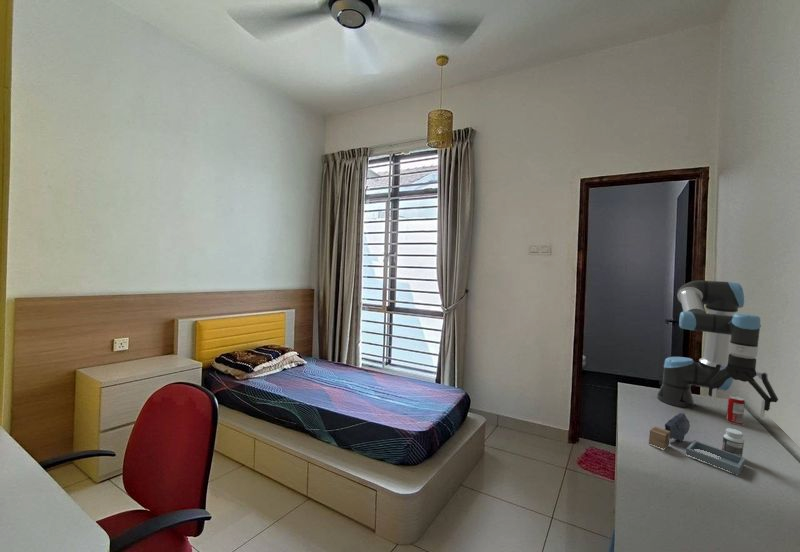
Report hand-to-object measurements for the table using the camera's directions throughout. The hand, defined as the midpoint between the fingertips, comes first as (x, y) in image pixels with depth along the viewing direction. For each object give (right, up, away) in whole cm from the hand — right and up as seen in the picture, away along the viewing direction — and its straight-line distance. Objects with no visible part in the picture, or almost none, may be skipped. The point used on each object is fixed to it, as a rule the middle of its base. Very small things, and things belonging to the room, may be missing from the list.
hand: (736, 411), depth 134 cm
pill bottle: (-1, -18, +1) cm, 18 cm away
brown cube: (-24, -16, +7) cm, 30 cm away
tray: (-10, -17, -2) cm, 20 cm away
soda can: (+28, -17, +31) cm, 45 cm away
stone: (-13, -17, +13) cm, 25 cm away
